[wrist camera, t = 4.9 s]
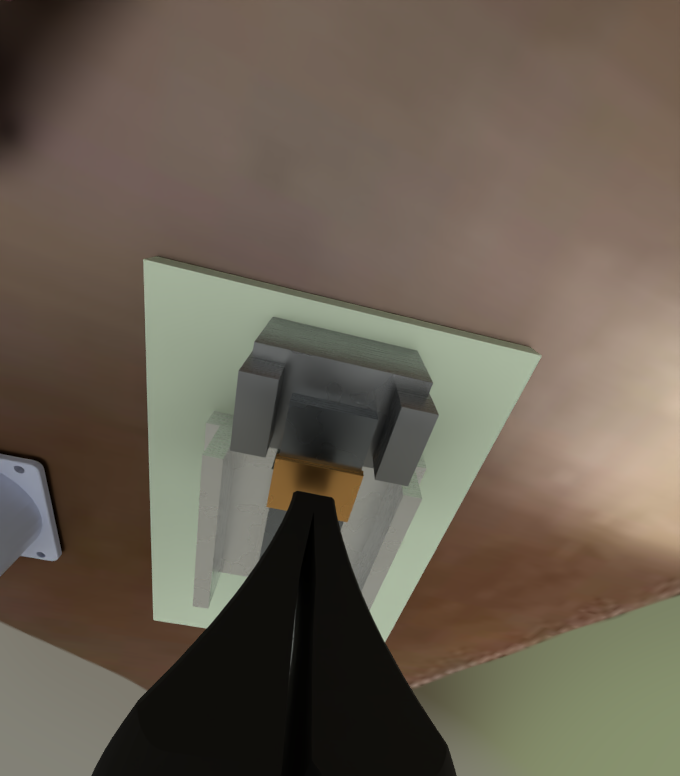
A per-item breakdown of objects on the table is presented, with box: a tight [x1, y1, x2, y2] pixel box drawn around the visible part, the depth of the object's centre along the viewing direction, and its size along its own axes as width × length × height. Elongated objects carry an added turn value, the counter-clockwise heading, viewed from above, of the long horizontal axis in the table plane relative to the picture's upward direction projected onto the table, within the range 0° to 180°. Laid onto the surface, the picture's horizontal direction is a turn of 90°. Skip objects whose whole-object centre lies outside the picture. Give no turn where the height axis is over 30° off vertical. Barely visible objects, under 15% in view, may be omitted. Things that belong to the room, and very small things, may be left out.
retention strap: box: [259, 393, 378, 666], centre depth 15 cm, size 3×16×1 cm, turn 167°
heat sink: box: [193, 411, 427, 611], centre depth 17 cm, size 10×10×3 cm
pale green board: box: [143, 256, 541, 642], centre depth 19 cm, size 16×24×1 cm, turn 167°
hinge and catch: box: [230, 317, 439, 674], centre depth 17 cm, size 6×20×4 cm, turn 167°
